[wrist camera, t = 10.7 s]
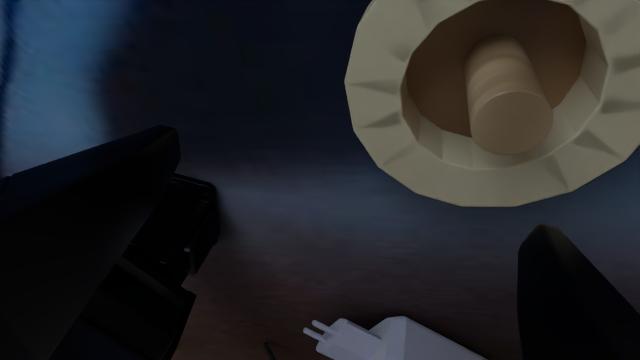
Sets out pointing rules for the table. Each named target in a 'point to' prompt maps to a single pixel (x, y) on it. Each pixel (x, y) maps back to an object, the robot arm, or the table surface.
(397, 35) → the tape roll
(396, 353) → the charger
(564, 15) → the stand
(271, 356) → the glasses
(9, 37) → the table surface
